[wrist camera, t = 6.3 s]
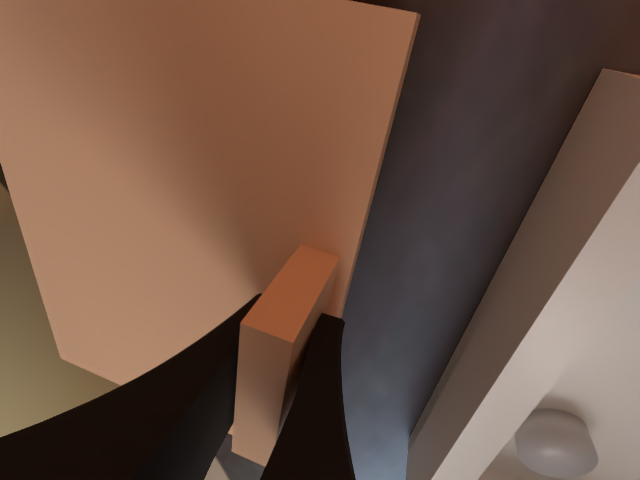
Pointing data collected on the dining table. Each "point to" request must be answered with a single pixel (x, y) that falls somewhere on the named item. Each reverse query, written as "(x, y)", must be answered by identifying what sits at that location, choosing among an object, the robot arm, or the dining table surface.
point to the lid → (197, 175)
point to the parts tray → (554, 324)
